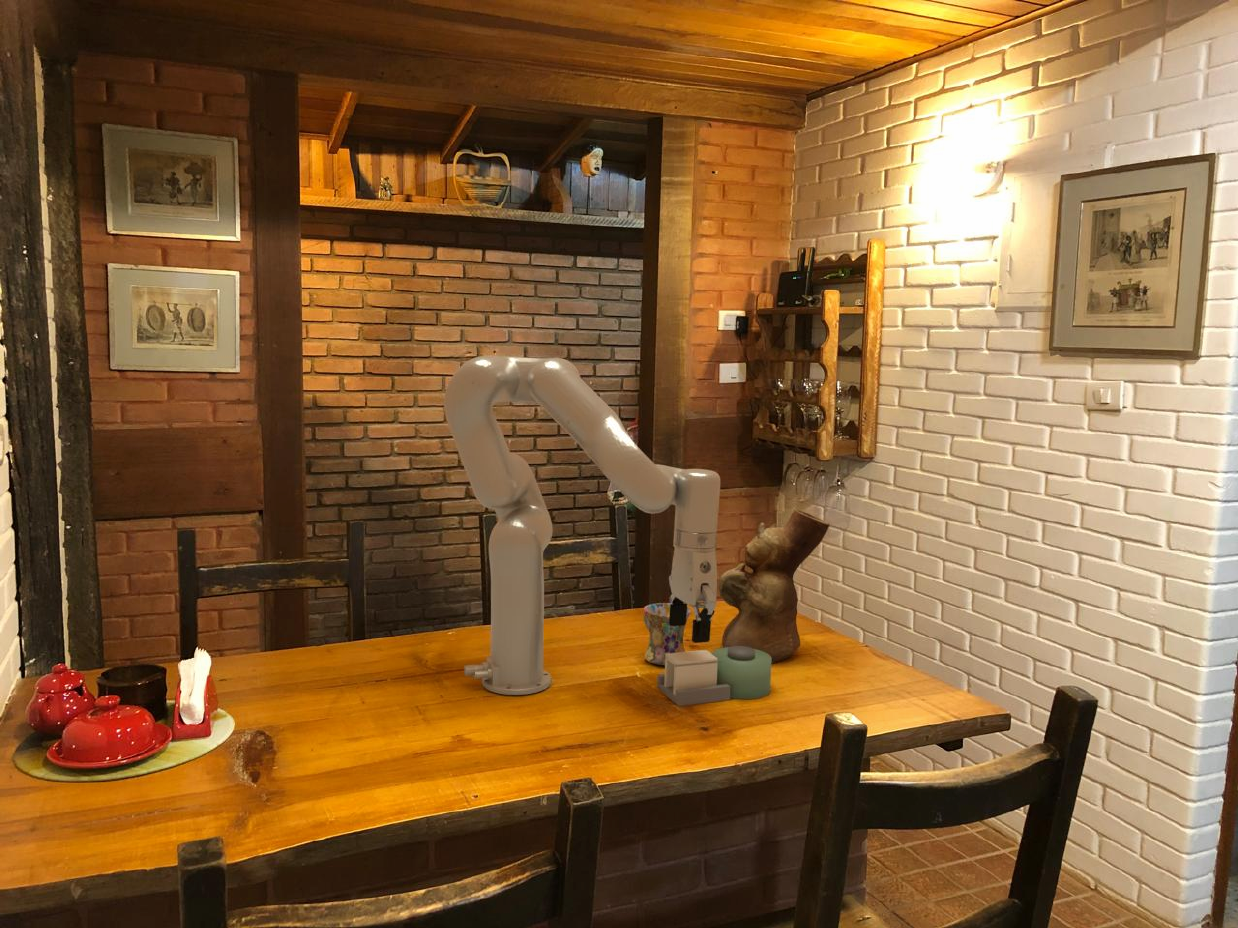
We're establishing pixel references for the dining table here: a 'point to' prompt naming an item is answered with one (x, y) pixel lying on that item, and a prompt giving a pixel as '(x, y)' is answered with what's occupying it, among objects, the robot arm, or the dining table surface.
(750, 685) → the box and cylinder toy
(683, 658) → the arch block
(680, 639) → the floral vase
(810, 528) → the ceramic vessel
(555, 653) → the dining table surface
